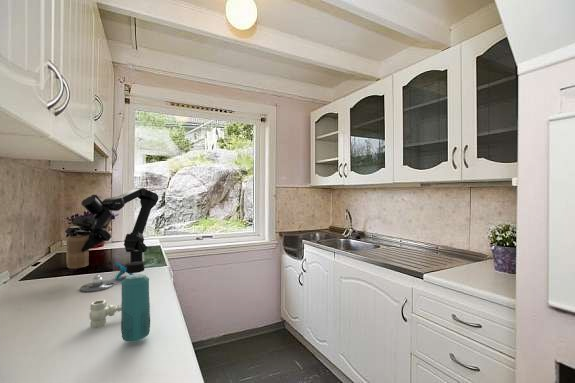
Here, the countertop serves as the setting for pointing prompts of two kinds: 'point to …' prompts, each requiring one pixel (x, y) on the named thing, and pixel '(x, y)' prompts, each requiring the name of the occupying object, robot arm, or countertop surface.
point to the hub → (96, 285)
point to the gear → (121, 271)
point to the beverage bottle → (135, 304)
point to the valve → (101, 313)
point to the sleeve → (77, 252)
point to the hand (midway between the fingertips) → (74, 250)
